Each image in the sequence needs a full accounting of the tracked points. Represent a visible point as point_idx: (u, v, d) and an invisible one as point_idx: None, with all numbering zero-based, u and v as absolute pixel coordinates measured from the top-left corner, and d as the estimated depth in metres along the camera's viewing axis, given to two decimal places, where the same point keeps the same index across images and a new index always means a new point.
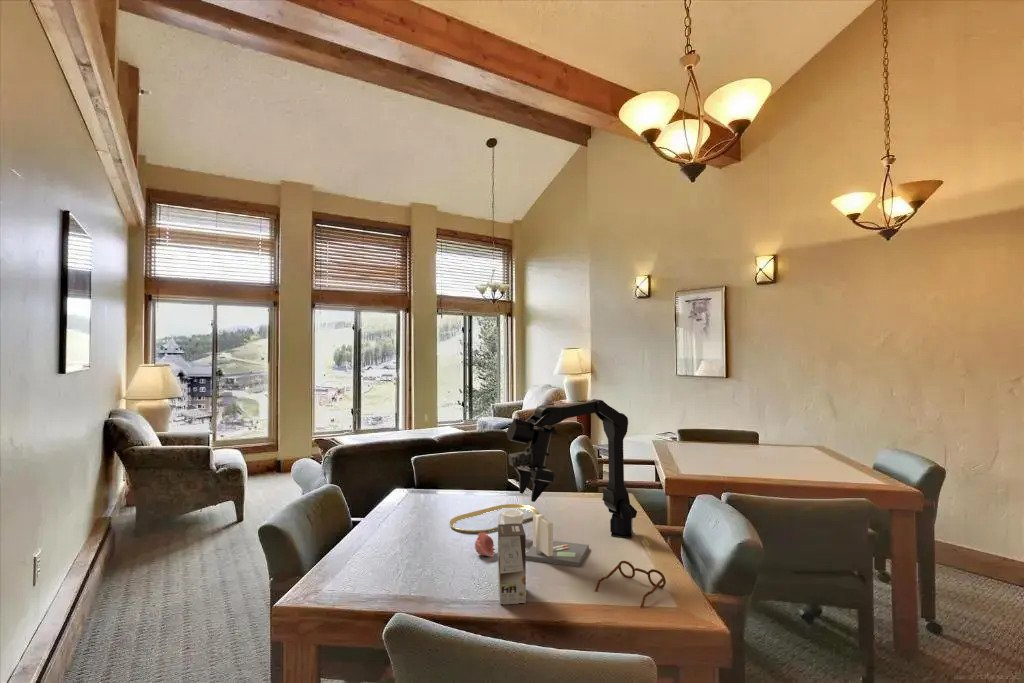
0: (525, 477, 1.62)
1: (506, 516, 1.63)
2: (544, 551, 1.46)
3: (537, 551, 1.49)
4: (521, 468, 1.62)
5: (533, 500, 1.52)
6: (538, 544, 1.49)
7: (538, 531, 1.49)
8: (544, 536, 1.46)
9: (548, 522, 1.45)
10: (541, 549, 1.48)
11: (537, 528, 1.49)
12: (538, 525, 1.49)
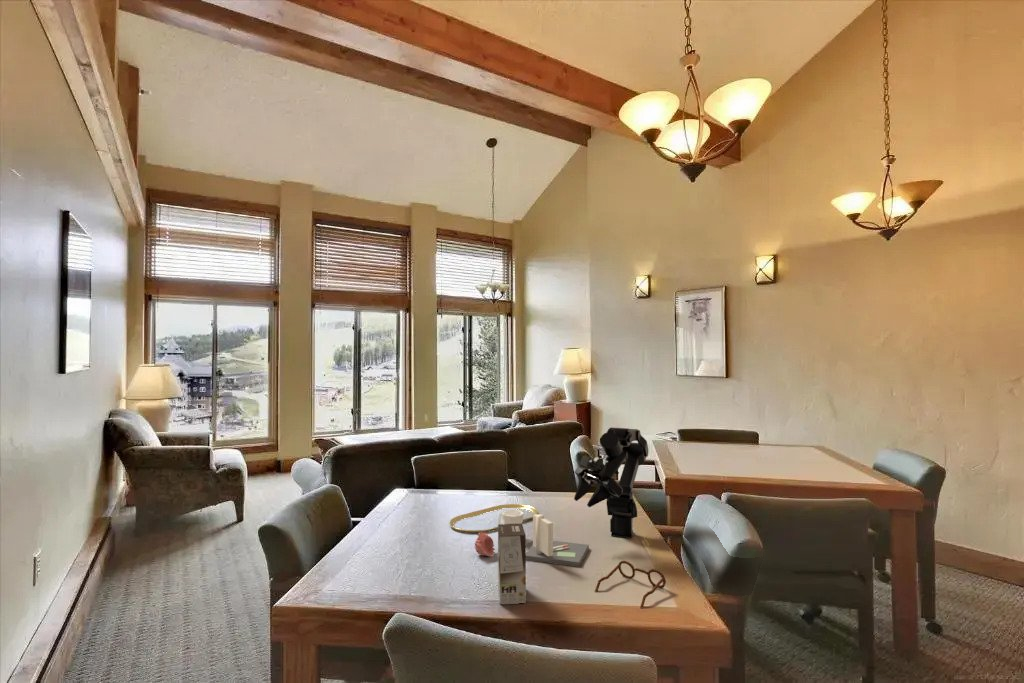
0: (584, 487, 1.62)
1: (506, 516, 1.63)
2: (544, 551, 1.46)
3: (537, 551, 1.49)
4: (584, 477, 1.63)
5: (589, 505, 1.54)
6: (538, 544, 1.49)
7: (538, 531, 1.49)
8: (544, 536, 1.46)
9: (548, 522, 1.45)
10: (541, 549, 1.48)
11: (537, 528, 1.49)
12: (538, 525, 1.49)
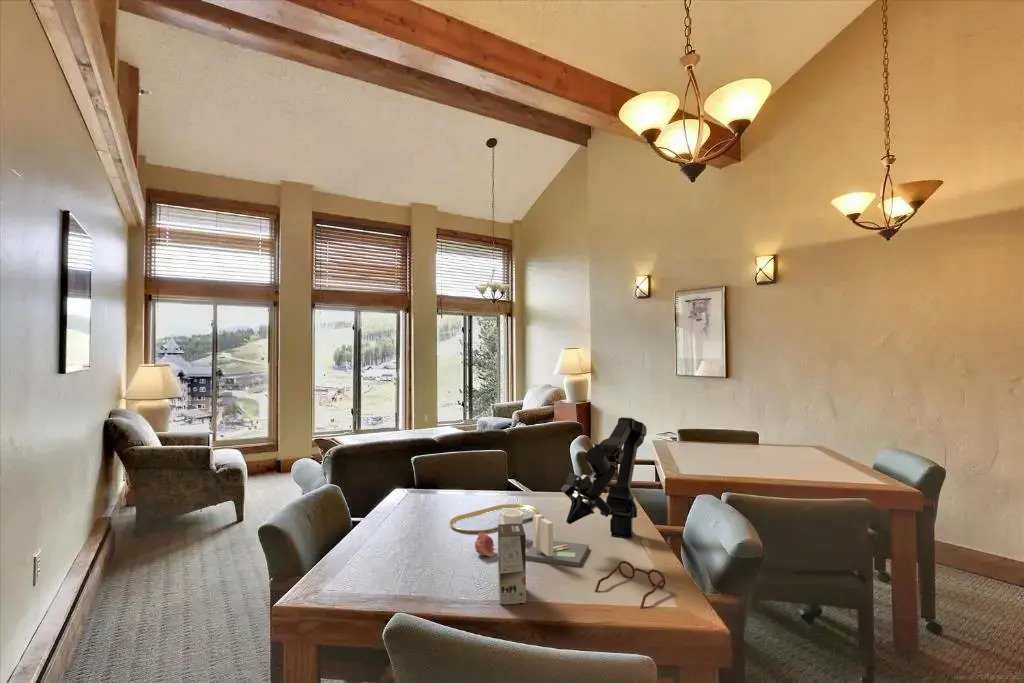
0: None
1: (506, 516, 1.63)
2: (544, 551, 1.46)
3: (537, 551, 1.49)
4: (577, 498, 1.52)
5: (569, 522, 1.49)
6: (538, 544, 1.49)
7: (538, 531, 1.49)
8: (544, 536, 1.46)
9: (548, 522, 1.45)
10: (541, 549, 1.48)
11: (537, 528, 1.49)
12: (538, 525, 1.49)
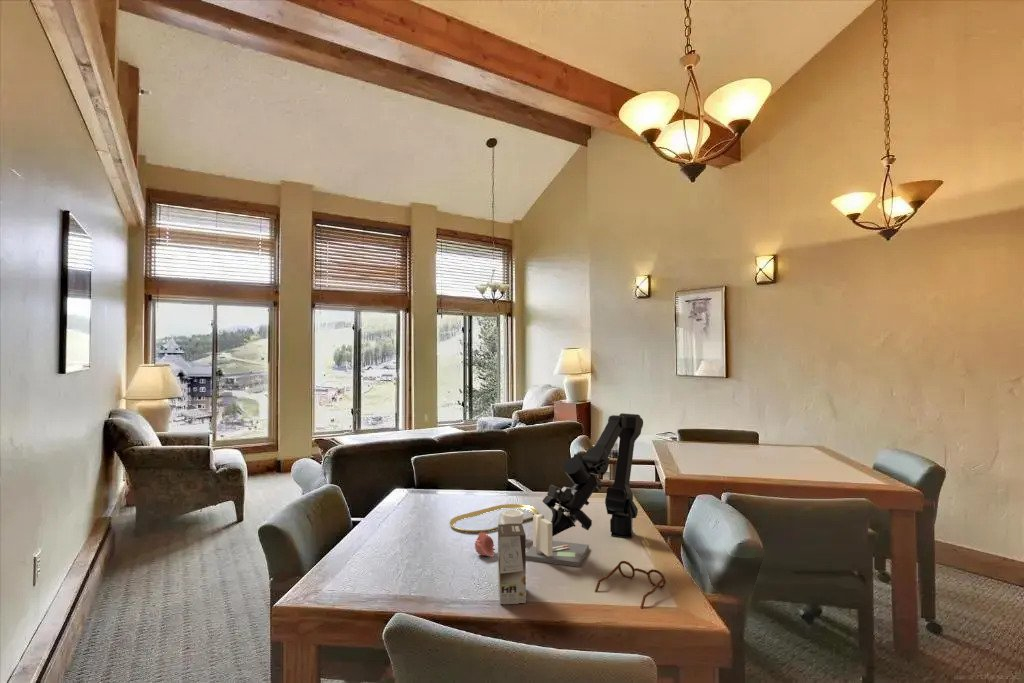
0: None
1: (506, 516, 1.63)
2: (544, 551, 1.46)
3: (537, 551, 1.49)
4: (558, 510, 1.49)
5: None
6: (538, 544, 1.49)
7: (538, 531, 1.49)
8: (544, 536, 1.46)
9: (548, 522, 1.45)
10: (541, 549, 1.47)
11: (537, 528, 1.49)
12: (538, 525, 1.49)
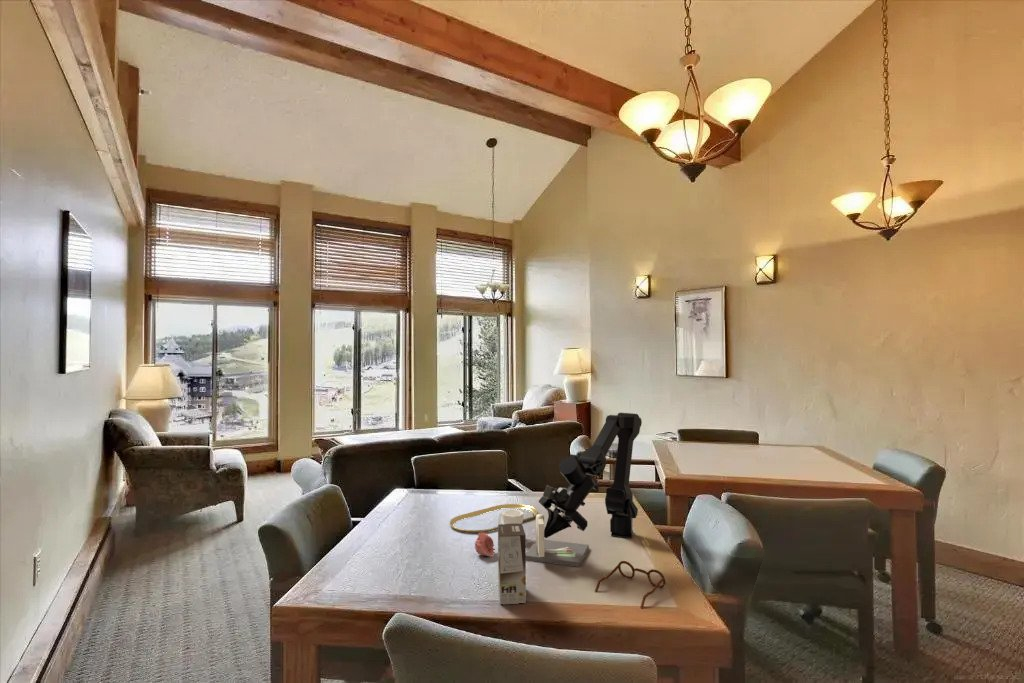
0: None
1: (506, 516, 1.63)
2: (538, 551, 1.46)
3: (536, 550, 1.49)
4: (554, 511, 1.49)
5: (545, 536, 1.45)
6: (537, 544, 1.49)
7: (537, 531, 1.49)
8: (538, 536, 1.46)
9: (540, 523, 1.45)
10: None
11: (536, 528, 1.49)
12: (537, 525, 1.49)
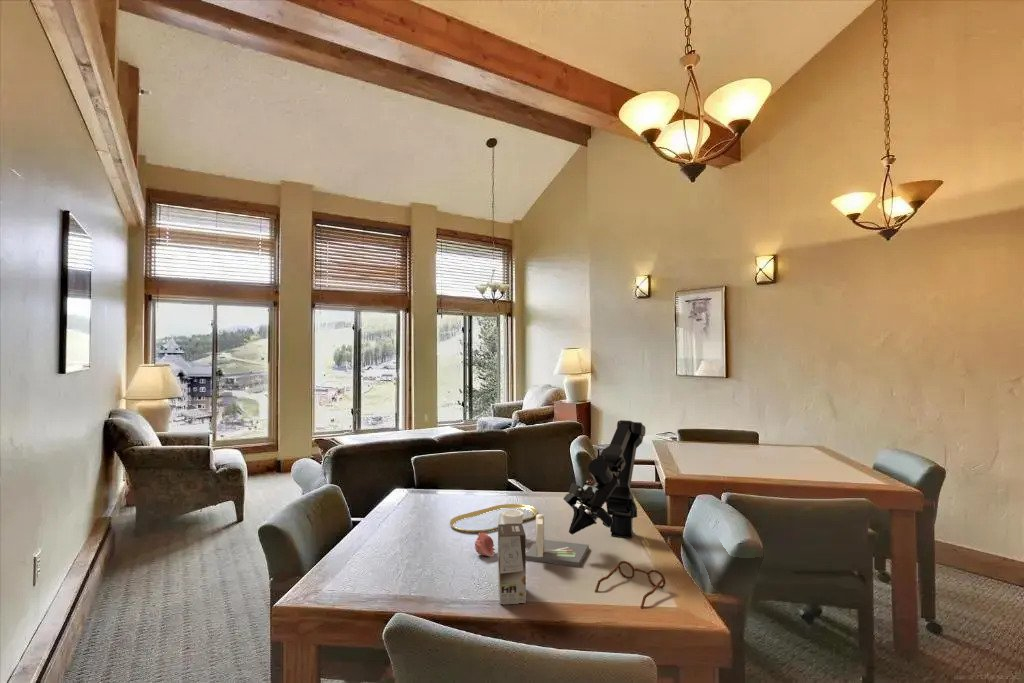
0: None
1: (506, 516, 1.63)
2: None
3: (536, 550, 1.49)
4: (580, 508, 1.53)
5: (571, 532, 1.49)
6: (537, 544, 1.49)
7: (536, 531, 1.49)
8: None
9: (539, 523, 1.45)
10: None
11: (536, 527, 1.50)
12: (537, 524, 1.49)
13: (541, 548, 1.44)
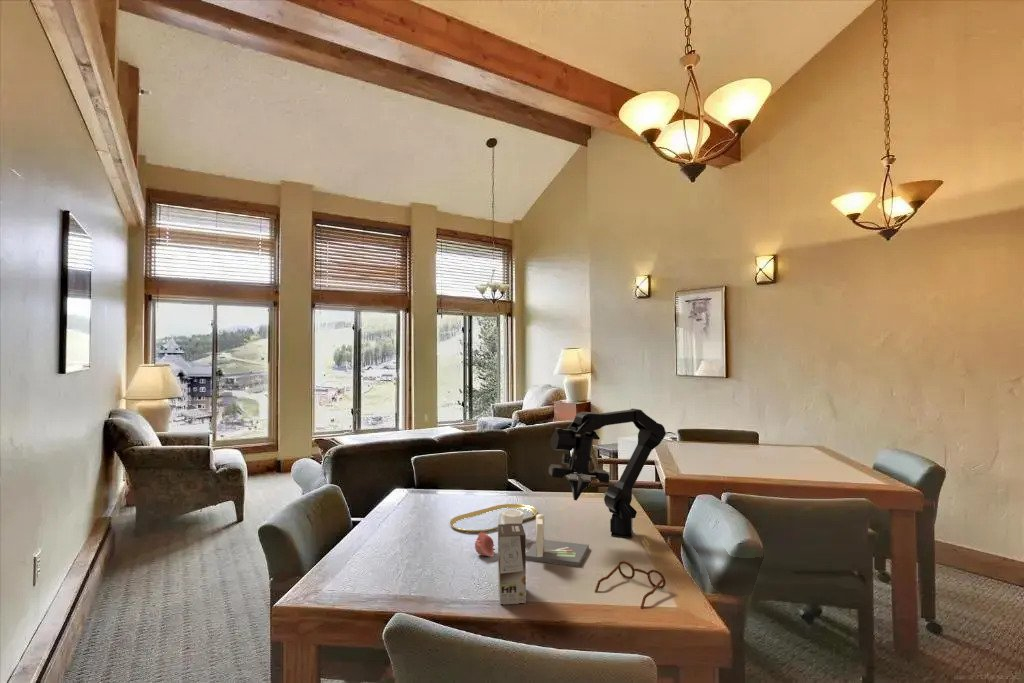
0: (579, 485, 1.65)
1: (506, 516, 1.63)
2: None
3: (536, 550, 1.49)
4: (580, 476, 1.67)
5: (573, 498, 1.65)
6: (536, 544, 1.49)
7: (536, 531, 1.49)
8: None
9: (539, 523, 1.45)
10: None
11: (536, 527, 1.50)
12: (537, 524, 1.49)
13: (541, 548, 1.44)
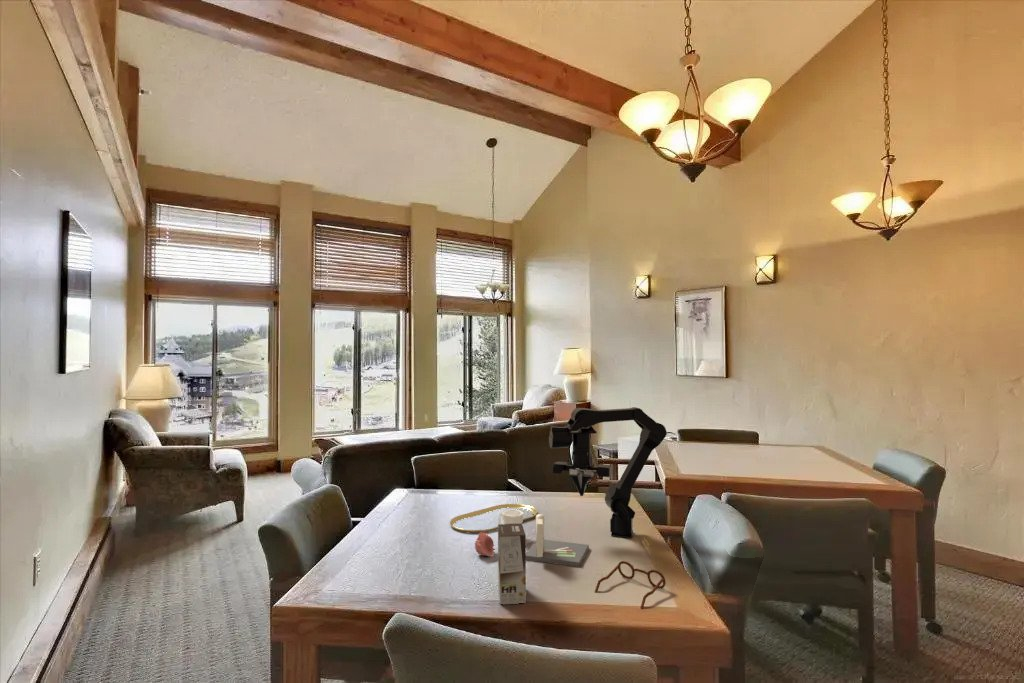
0: None
1: (506, 516, 1.63)
2: None
3: (536, 550, 1.49)
4: None
5: None
6: (536, 544, 1.49)
7: (536, 531, 1.49)
8: None
9: (539, 523, 1.45)
10: None
11: (536, 527, 1.50)
12: (537, 524, 1.49)
13: (541, 548, 1.44)
